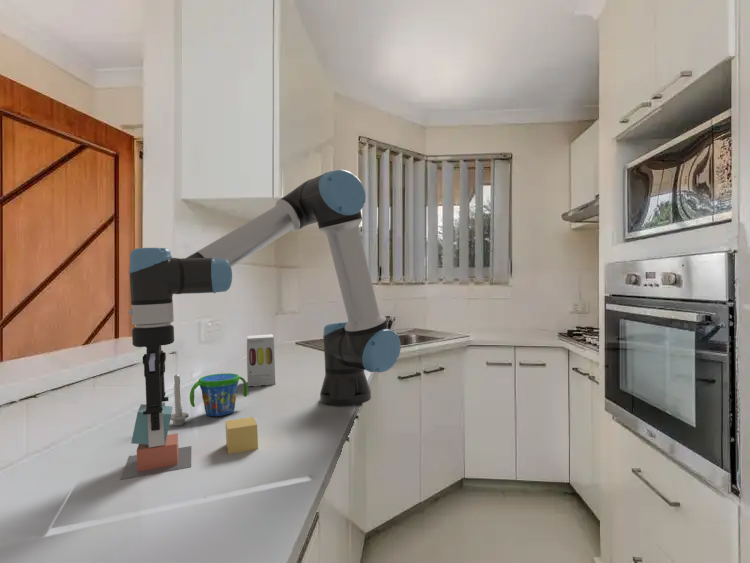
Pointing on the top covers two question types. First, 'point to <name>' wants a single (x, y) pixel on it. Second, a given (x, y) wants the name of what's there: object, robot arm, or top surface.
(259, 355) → the supplement box
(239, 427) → the ochre brick
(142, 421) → the teal brick
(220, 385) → the snack cup
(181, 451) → the base
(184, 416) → the screw
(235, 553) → the top surface
